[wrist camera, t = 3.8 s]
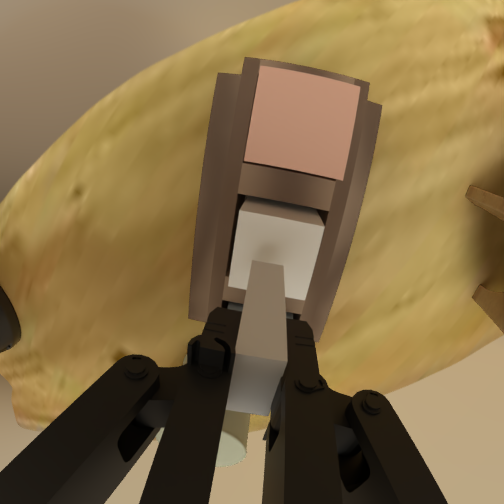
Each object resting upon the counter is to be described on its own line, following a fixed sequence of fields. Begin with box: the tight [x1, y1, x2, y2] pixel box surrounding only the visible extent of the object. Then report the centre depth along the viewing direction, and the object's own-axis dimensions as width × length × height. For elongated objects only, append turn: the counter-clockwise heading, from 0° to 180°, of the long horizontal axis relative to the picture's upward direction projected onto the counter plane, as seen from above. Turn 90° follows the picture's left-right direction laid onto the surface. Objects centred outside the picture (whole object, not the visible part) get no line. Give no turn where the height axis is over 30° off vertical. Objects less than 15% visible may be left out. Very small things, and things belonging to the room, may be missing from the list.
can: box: [156, 354, 250, 467], centre depth 28 cm, size 9×9×12 cm
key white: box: [228, 195, 325, 300], centre depth 21 cm, size 5×5×6 cm
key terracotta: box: [244, 65, 360, 181], centre depth 16 cm, size 5×5×6 cm
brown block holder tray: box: [188, 57, 382, 342], centre depth 23 cm, size 14×24×7 cm, turn 171°
